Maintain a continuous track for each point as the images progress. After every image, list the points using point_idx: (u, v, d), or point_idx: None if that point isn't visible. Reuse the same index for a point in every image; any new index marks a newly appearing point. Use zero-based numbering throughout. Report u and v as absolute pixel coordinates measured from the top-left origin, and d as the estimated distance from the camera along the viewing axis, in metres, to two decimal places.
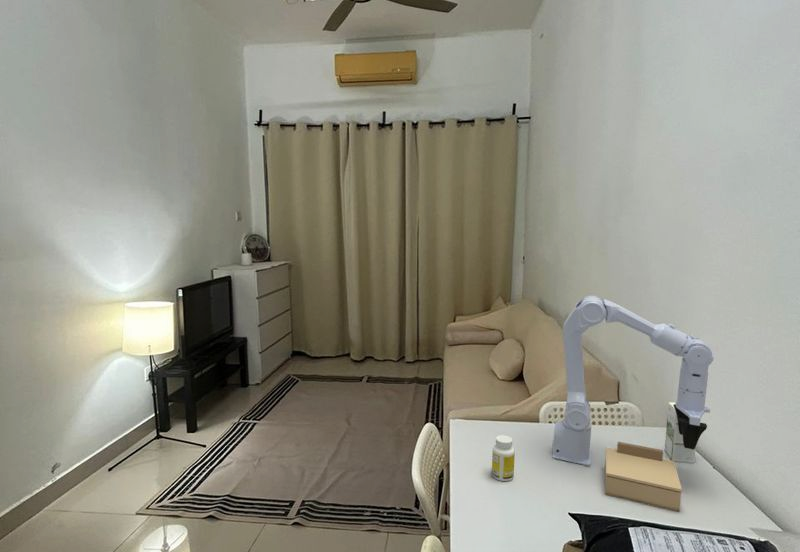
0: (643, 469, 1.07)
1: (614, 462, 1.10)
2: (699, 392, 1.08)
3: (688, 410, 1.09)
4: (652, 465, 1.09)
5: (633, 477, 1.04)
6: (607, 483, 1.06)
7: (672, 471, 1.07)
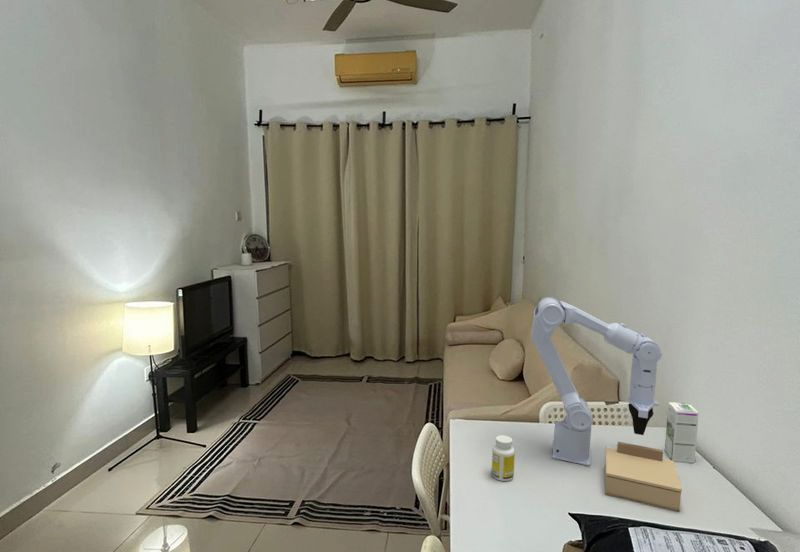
0: (643, 469, 1.07)
1: (614, 462, 1.10)
2: (648, 387, 1.14)
3: (638, 404, 1.15)
4: (652, 465, 1.09)
5: (633, 477, 1.04)
6: (607, 483, 1.06)
7: (672, 471, 1.07)
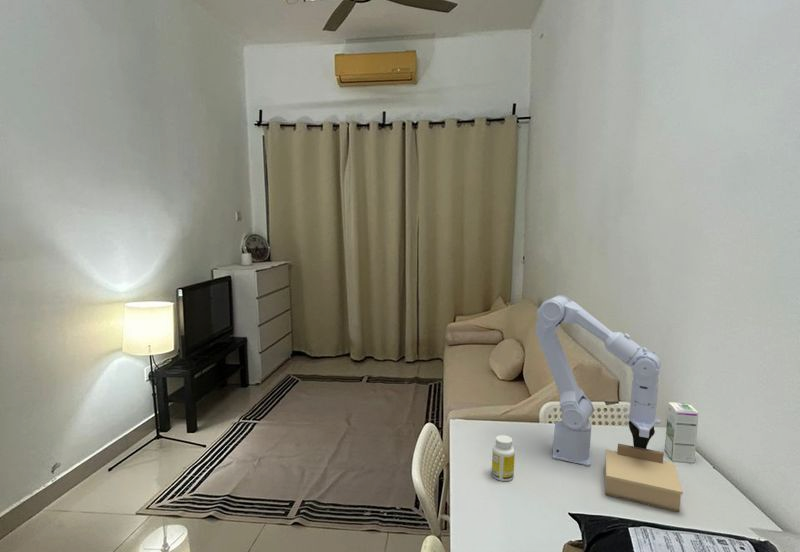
0: (643, 472, 1.06)
1: (615, 464, 1.09)
2: (649, 404, 1.10)
3: (639, 422, 1.11)
4: (652, 467, 1.08)
5: (633, 480, 1.03)
6: (607, 483, 1.06)
7: (673, 473, 1.06)
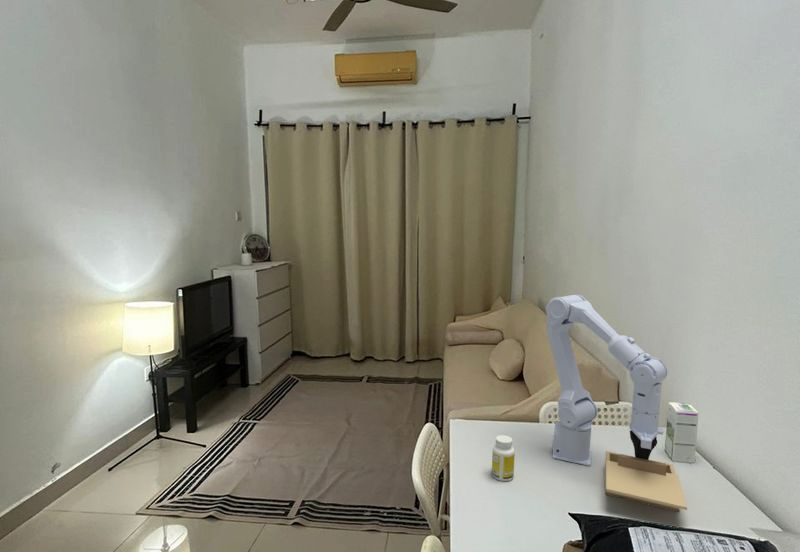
0: (645, 485, 1.01)
1: (615, 476, 1.04)
2: (651, 413, 1.04)
3: (641, 432, 1.05)
4: (655, 480, 1.03)
5: (635, 494, 0.97)
6: None
7: (676, 486, 1.00)
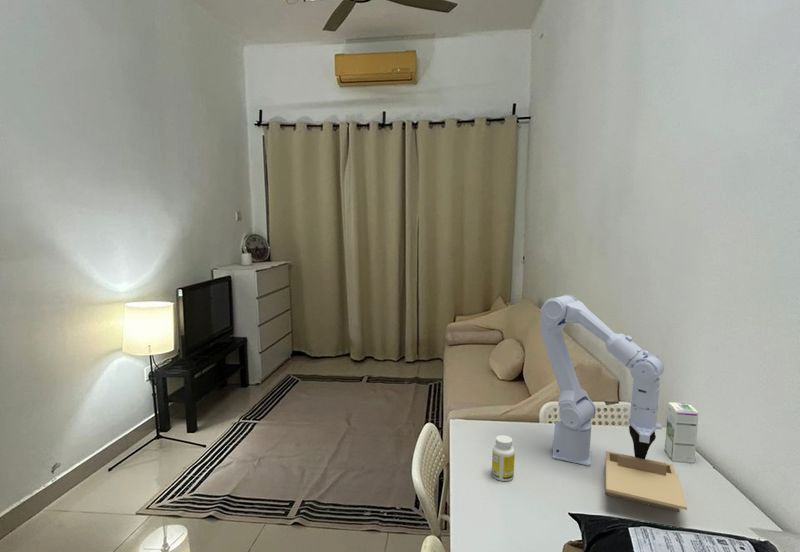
0: (645, 485, 1.01)
1: (615, 476, 1.04)
2: (650, 409, 1.07)
3: (639, 427, 1.08)
4: (655, 480, 1.03)
5: (635, 494, 0.97)
6: None
7: (676, 486, 1.00)
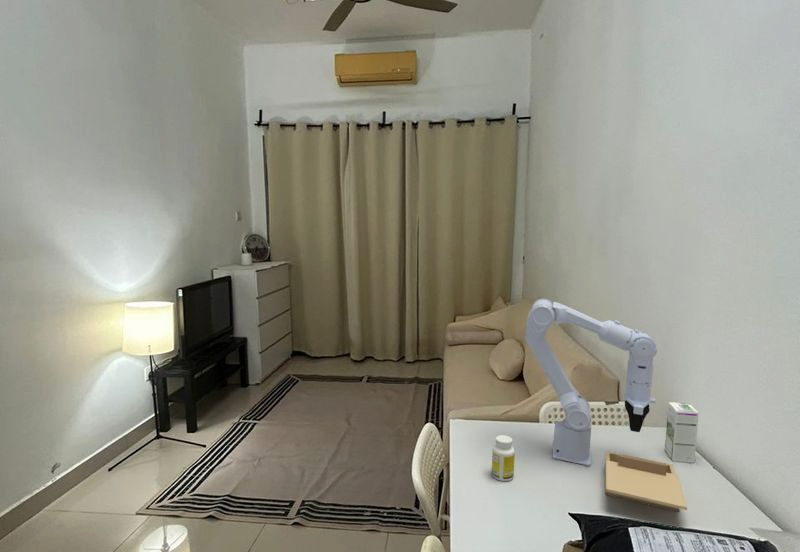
0: (645, 485, 1.01)
1: (615, 476, 1.04)
2: (644, 383, 1.13)
3: (634, 400, 1.14)
4: (655, 480, 1.03)
5: (635, 494, 0.97)
6: None
7: (676, 486, 1.00)
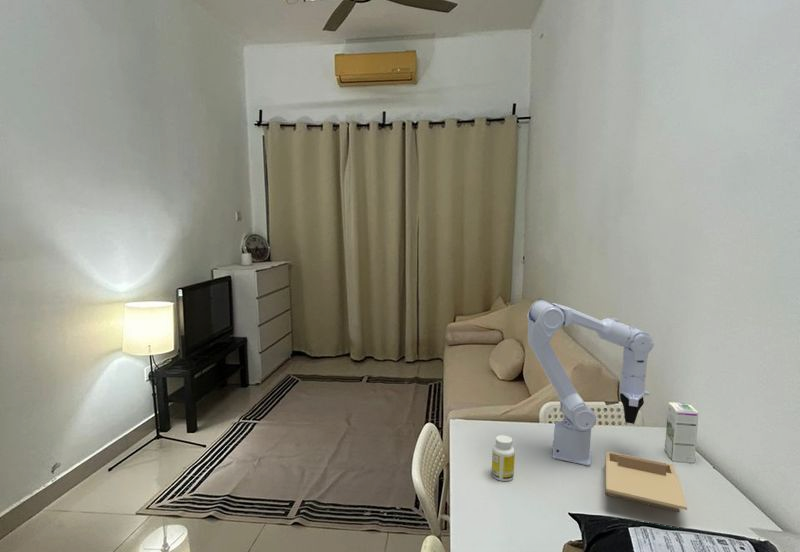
0: (645, 485, 1.01)
1: (615, 476, 1.04)
2: (638, 376, 1.18)
3: (629, 393, 1.19)
4: (655, 480, 1.03)
5: (635, 494, 0.97)
6: None
7: (676, 486, 1.00)
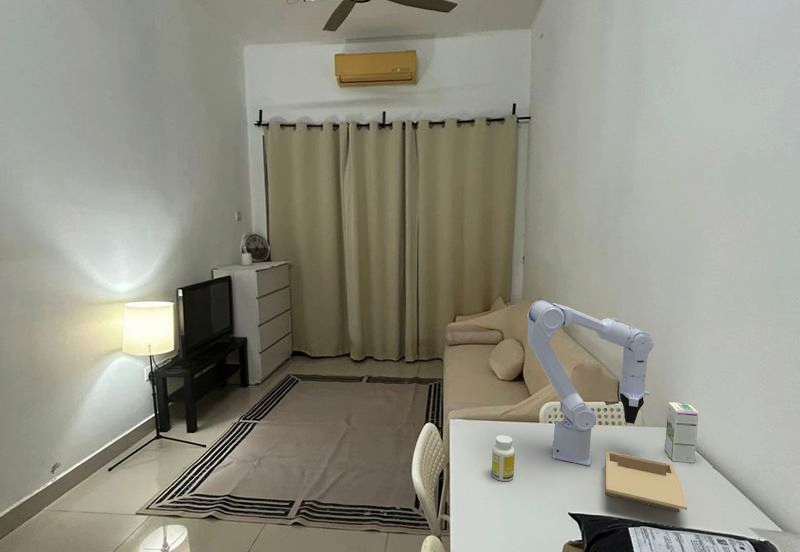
0: (645, 485, 1.01)
1: (615, 476, 1.04)
2: (638, 376, 1.18)
3: (629, 393, 1.19)
4: (655, 480, 1.03)
5: (635, 494, 0.97)
6: None
7: (676, 486, 1.00)
